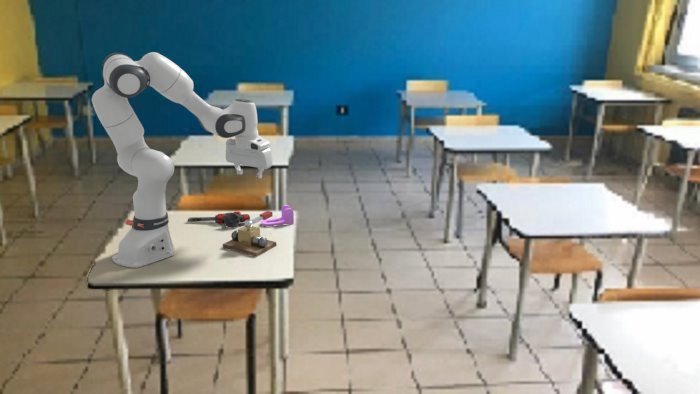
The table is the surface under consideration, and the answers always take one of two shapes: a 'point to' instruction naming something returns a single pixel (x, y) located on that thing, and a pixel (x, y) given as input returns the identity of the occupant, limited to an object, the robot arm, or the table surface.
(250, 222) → the valve lever
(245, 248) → the walnut board
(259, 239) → the ball valve
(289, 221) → the bracket
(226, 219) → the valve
